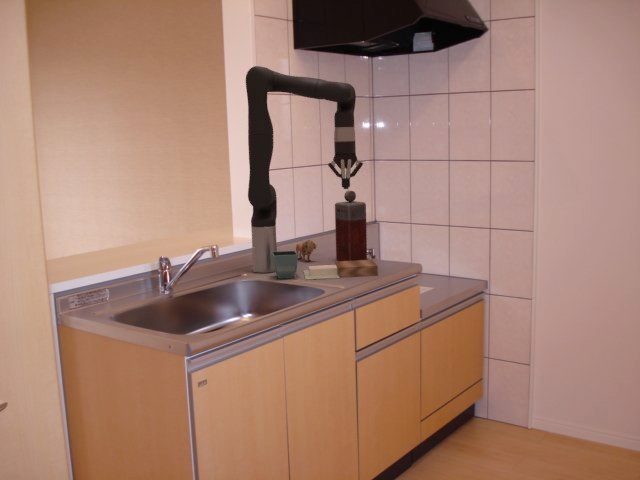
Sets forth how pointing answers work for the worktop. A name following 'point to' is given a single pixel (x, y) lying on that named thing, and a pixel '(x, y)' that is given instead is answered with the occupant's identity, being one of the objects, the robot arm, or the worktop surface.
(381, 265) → the worktop surface
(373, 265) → the brown wooden block
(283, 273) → the flower pot
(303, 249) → the lion figurine
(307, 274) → the mat
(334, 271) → the beige flat block
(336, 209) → the red drink dispenser
